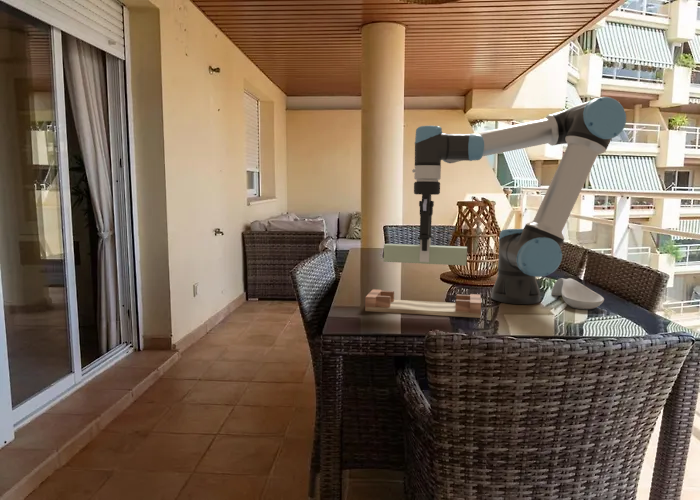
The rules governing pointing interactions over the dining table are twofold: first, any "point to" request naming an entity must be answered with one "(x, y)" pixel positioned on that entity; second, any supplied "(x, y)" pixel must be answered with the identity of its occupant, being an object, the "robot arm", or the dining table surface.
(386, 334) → the dining table surface
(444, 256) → the slat
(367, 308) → the slat cradle
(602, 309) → the dining table surface
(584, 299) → the spoon rest
